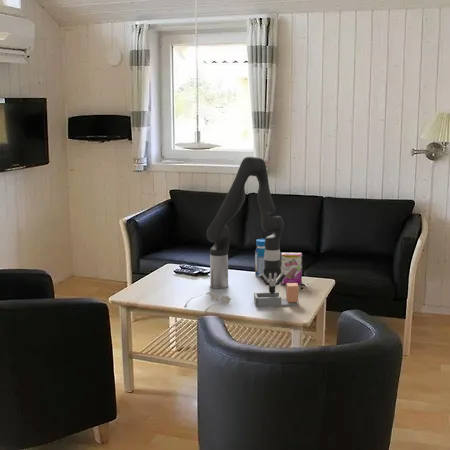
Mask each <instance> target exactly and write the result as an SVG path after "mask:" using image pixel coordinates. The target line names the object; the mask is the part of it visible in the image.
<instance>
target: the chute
mask: <svg viewBox="0 0 450 450" xmlns="http://www.w3.org/2000/svg"><path fill="white" fill-rule="evenodd" d="M253 303H254V305H255V308H257V309H259V308H279V307H281V308H283V307H299V302H287V300H286V298H282V296H280V292H279V291H275V292H274V294H271V293H270V292H269V291H268V292H267V291H265V292H264V291H263V292H254V293H253Z"/></svg>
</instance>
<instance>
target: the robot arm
mask: <svg viewBox="0 0 450 450" xmlns="http://www.w3.org/2000/svg"><path fill="white" fill-rule="evenodd" d="M249 177H256V180H257V181H258V189H257V193H256V200H257V201H256V202H257V204H258V208H259V211H260V226H261V229H262V230H263V232H265V233H272V234H271V235H267V236H266V237H265V238H264V239H265V253H264V270H263V273H262V274H259V278H260V279H261V281H263V283H264V285H266V286H268V292H270V293H271V294H274V292H276V286H278V285H281V281H282V280H283V279H284V277H285V274H284V273H282V272H281V244H280V243H281V242H280V241H281V239H282V238H281V237H282V233H283V231H284V225H285V222H284V220H283V217H281V215H275V216H269V215H271V214H273V213H274V212H275V211H276V207H275V204H274V201H273V198H272V194H271V190H270V185H269V184H270V183H269V178H268V177H269V175H268V171H267V166H266V161H265V160H264V159H263V158H261V157H257V156H246V157H244V158H243V159H242V161H241V163H240V165H239V168H238V170H237V173H236V176H235V178H234V180H233V181H232V184H231V187H230V188H229V190H228V192H227V193H226V195H225V198H224V200H223V201H222V204H221V206H220V208H219V210H218V211H217V213H216V215H215V217H213V218H214V219H213V220H212V221H211V223H210V224H209V226H208V227H207V230H206V239H207V240H208V242H210V243H214V244H213V245H212V246H211V247H210V250H209V260H210V261H209V264H210V265H209V266H210V267H209V270H210V271H209V276H210V279H209V281H210V282H209V283H210V288H212V289H213V288H214V289H224V288H228V287H229V256H228V255H229V250H230V238H231V234H230V228H229V226H228V225H227V224H228V222H230V221H231V219H233V218H234V217H235V215H236V214H238V212H239V211H240V210H241V208H242V206H243V204H244V203H245V201H246V188H245V186H246V183H247V181H248V179H249ZM264 274H265V276H266V277H265V276H264ZM266 278H267V280H268V281H267V280H266Z"/></svg>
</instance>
